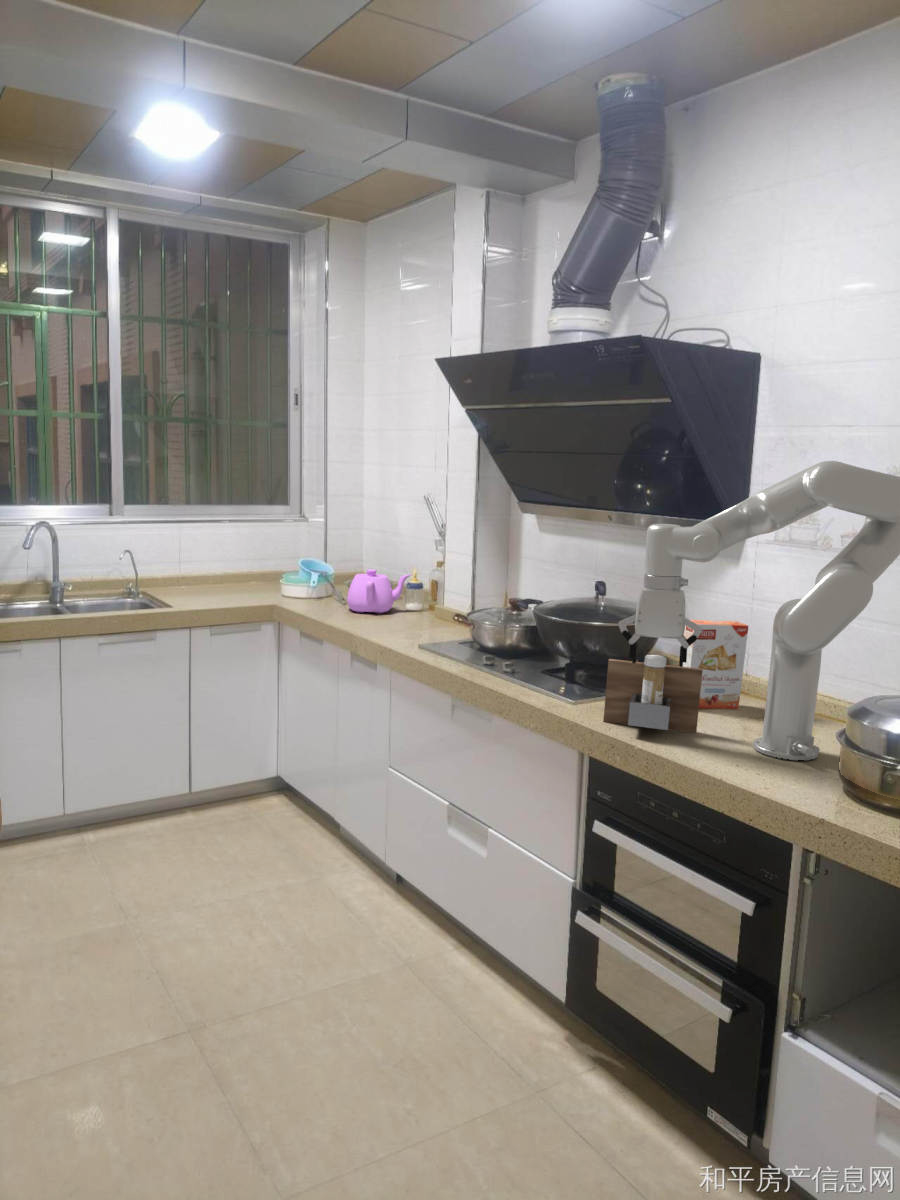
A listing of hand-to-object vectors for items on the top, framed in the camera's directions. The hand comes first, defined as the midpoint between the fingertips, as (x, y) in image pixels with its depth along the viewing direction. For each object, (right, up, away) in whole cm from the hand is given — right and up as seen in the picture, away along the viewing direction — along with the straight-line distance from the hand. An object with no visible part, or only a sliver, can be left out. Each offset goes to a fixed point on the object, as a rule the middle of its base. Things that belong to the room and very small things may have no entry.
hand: (657, 663), depth 193 cm
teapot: (-72, +9, +137) cm, 155 cm away
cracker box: (+19, -13, +28) cm, 36 cm away
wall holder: (-1, -15, +4) cm, 16 cm away
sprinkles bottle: (-1, -12, +2) cm, 12 cm away
